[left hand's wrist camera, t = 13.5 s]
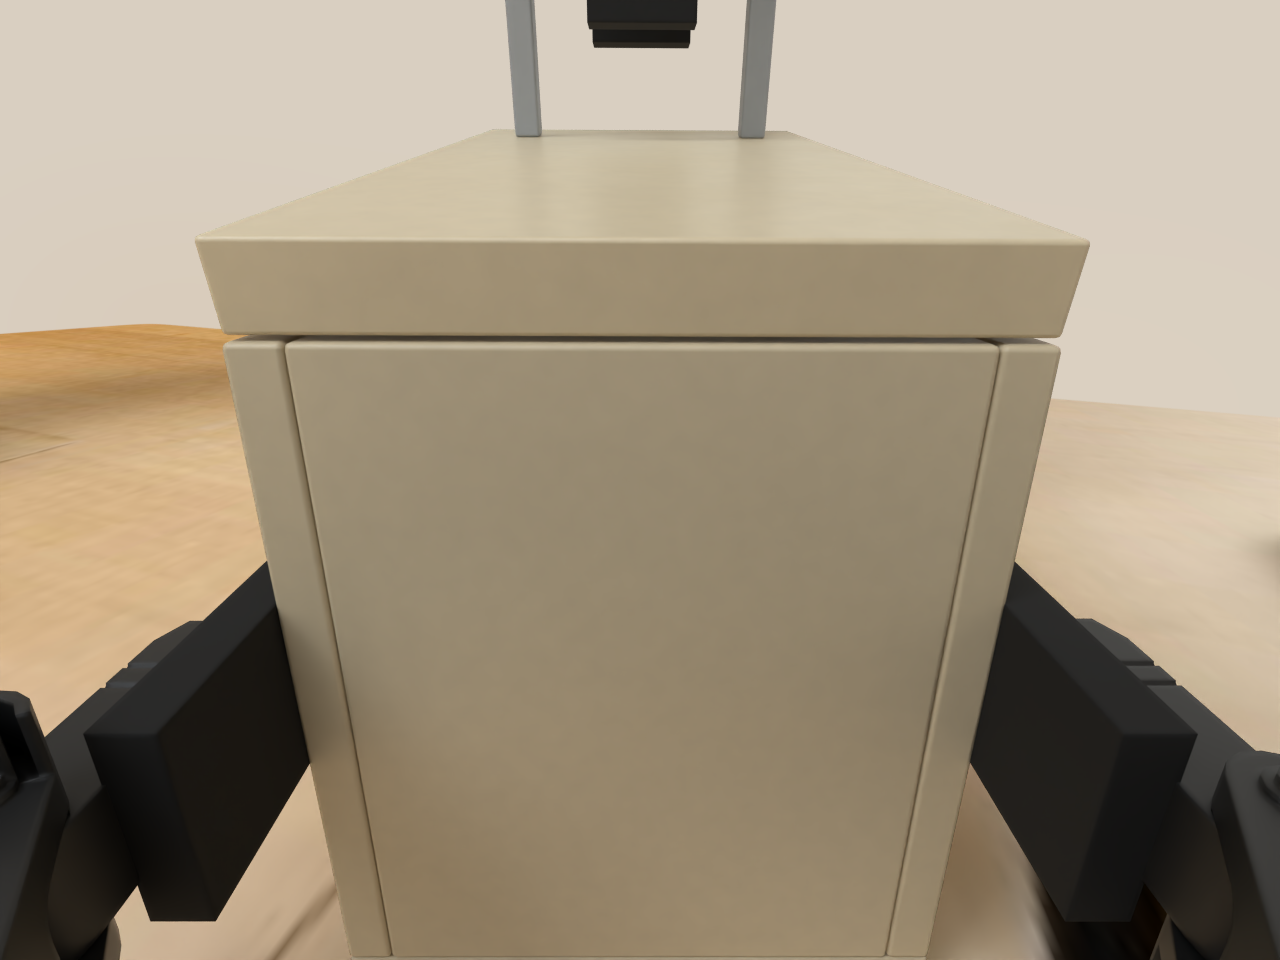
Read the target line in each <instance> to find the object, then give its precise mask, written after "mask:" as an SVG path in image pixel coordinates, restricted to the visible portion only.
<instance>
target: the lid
mask: <svg viewBox="0 0 1280 960" xmlns="http://www.w3.org/2000/svg"><path fill="white" fill-rule="evenodd" d="M505 2H506V15H507V29H508V42H509V55H510V69H511V82H512V95H513V108H514V121H515V130H490V131H487V132H485V133H482V134H479V135H476V136H473V137H471V138H468V139H465V140H462V141H459V142H457V143H454V144H451V145H448V146H446V147H443V148H440V149H437V150H434V151H432V152H429V153H426V154H423V155H421V156H418V157H415V158H412V159H409V160H406V161H404V162H401V163H398V164H395V165H393V166H390V167H387V168H384V169H381V170H379V171H376V172H373V173H370V174H367V175H365V176H362V177H359V178H356V179H353V180H351V181H348V182H345V183H342V184H340V185H337V186H334V187H331V188H328V189H326V190H323V191H320V192H317V193H314V194H312V195H309V196H306V197H303V198H300V199H298V200H295V201H292V202H289V203H287V204H284V205H281V206H278V207H275V208H273V209H270V210H267V211H264V212H261V213H259V214H256V215H253V216H250V217H248V218H245V219H242V220H239V221H236V222H234V223H231V224H228V225H225V226H222V227H220V228H217V229H214V230H211V231H208V232H206V233H203V234H200V235H198V236H196V238H195V243H196V247H197V250H198V253H199V257H200V260H201V263H202V266H203V270H204V273H205V276H206V280H207V283H208V286H209V289H210V293H211V296H212V299H213V303H214V306H215V309H216V312H217V316H218V319H219V322H220V326H221V329H222V331H223V333H225V334H228V335H417V336H664V337H912V338H1057V337H1060V336H1061V334H1062V332H1063V328H1064V325H1065V322H1066V319H1067V316H1068V313H1069V310H1070V307H1071V303H1072V300H1073V297H1074V294H1075V291H1076V288H1077V285H1078V281H1079V278H1080V275H1081V272H1082V269H1083V266H1084V263H1085V259H1086V256H1087V253H1088V250H1089V247H1090V242H1089V241H1088V240H1086V239H1084V238H1081V237H1079V236H1076V235H1073V234H1070V233H1068V232H1065V231H1062V230H1059V229H1057V228H1054V227H1051V226H1048V225H1045V224H1043V223H1040V222H1037V221H1034V220H1032V219H1029V218H1026V217H1023V216H1020V215H1018V214H1015V213H1012V212H1009V211H1007V210H1004V209H1001V208H998V207H996V206H993V205H990V204H987V203H984V202H982V201H979V200H976V199H973V198H971V197H968V196H965V195H962V194H960V193H957V192H954V191H951V190H948V189H946V188H943V187H940V186H937V185H935V184H932V183H929V182H926V181H923V180H921V179H918V178H915V177H912V176H910V175H907V174H904V173H901V172H898V171H896V170H893V169H890V168H887V167H885V166H882V165H879V164H876V163H873V162H871V161H868V160H865V159H862V158H860V157H857V156H854V155H851V154H848V153H846V152H843V151H840V150H837V149H835V148H832V147H829V146H826V145H824V144H821V143H818V142H815V141H813V140H810V139H807V138H804V137H801V136H799V135H796V134H793V133H790V132H787V131H765V126H766V114H767V102H768V90H769V79H770V67H771V55H772V43H773V32H774V20H775V8H776V0H747V8H746V23H745V39H744V53H743V68H742V82H741V97H740V112H739V126H738V131H674V130H669V131H668V130H542V125H541V108H540V91H539V74H538V57H537V40H536V23H535V6H534V0H505Z"/></svg>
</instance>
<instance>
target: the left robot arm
mask: <svg viewBox="0 0 1280 960" xmlns="http://www.w3.org/2000/svg"><path fill="white" fill-rule="evenodd" d="M970 763H971V765H972V766H973V768H974V770H975V771H976V773H977V775H978V776H979V778H980V780H981V781H982V783H983V785H984V786H985V788H986V790H987V791H988V793H989V795H990V796H991V798H992V800H993V801H994V803H995V805H996V806H997V808H998V810H999V811H1000V813H1001V815H1002V816H1003V818H1004V820H1005V821H1006V823H1007V825H1008V827H1009V828H1010V830H1011V832H1012V833H1013V835H1014V837H1015V838H1016V840H1017V842H1018V843H1019V845H1020V847H1021V848H1022V850H1023V852H1024V853H1025V855H1026V857H1027V858H1028V860H1029V862H1030V863H1031V865H1032V867H1033V868H1034V870H1035V872H1036V873H1037V875H1038V877H1039V878H1040V880H1041V882H1042V883H1043V885H1044V887H1045V888H1046V890H1047V892H1048V894H1049V895H1050V897H1051V899H1052V900H1053V902H1054V904H1055V905H1056V907H1057V909H1058V910H1059V912H1060V914H1061V915H1062V917H1063V919H1064V920H1065V921H1070V922H1130V921H1131V918H1132V916H1133V913H1134V910H1135V907H1136V904H1137V902H1138V899H1139V896H1140V893H1141V891H1142V888H1143V885H1144V883H1145V884H1146V886H1147V887H1148V888H1149V890H1150V891H1151V892H1152V894H1153V895H1154V896H1155V898H1156V899H1157V900H1158V902H1159V903H1160V904H1161V906H1162V907H1163V908H1164V910H1165V911H1166V912H1167V916H1166V919H1165V921H1164V924H1163V927H1162V929H1161V932H1160V934H1159V937H1158V939H1157V942H1156V945H1155V947H1154V950H1153V952H1152V955H1151V958H1150V960H1280V754H1276V753H1271V752H1265V751H1255V750H1254V749H1253V748H1252V747H1251V746H1250V745H1248V744H1247V743H1246V742H1245V741H1244V740H1243V739H1242V738H1241V737H1239V736H1238V735H1237V734H1236V733H1235V732H1234V731H1233V730H1231V729H1230V728H1229V727H1228V726H1227V725H1226V724H1225V723H1223V722H1222V721H1221V720H1220V719H1219V718H1218V717H1217V716H1215V715H1214V714H1213V713H1212V712H1211V711H1210V710H1209V709H1208V708H1206V707H1205V706H1204V705H1203V704H1202V703H1201V702H1200V701H1198V700H1197V699H1196V698H1195V697H1194V696H1193V695H1192V694H1190V693H1189V692H1188V691H1187V690H1186V689H1185V688H1184V687H1182V686H1177V685H1176V680H1174V679H1173V678H1172V677H1171V676H1170V675H1169V674H1168V673H1167V672H1165V671H1164V670H1163V669H1162V668H1161V667H1160V666H1154V661H1153V660H1152V659H1151V658H1149V657H1148V656H1147V655H1146V654H1145V653H1144V652H1143V651H1141V650H1140V649H1139V648H1138V647H1137V646H1136V645H1135V644H1134V643H1132V642H1131V641H1130V640H1129V639H1128V638H1126V637H1124V636H1122V635H1121V634H1119V633H1117V632H1115V631H1113V630H1111V629H1110V628H1108V627H1106V626H1104V625H1102V624H1100V623H1099V622H1097V621H1095V620H1093V619H1075V618H1074V617H1073V616H1072V615H1071V614H1070V613H1069V612H1068V611H1067V610H1066V609H1065V608H1063V607H1062V606H1061V605H1060V604H1059V603H1058V602H1057V601H1056V600H1055V599H1054V598H1053V597H1052V596H1051V595H1050V594H1049V593H1048V592H1046V591H1045V590H1044V589H1043V588H1042V587H1041V586H1040V585H1039V584H1038V583H1037V582H1036V581H1035V580H1034V579H1033V578H1032V577H1030V576H1029V575H1028V574H1027V573H1026V572H1025V571H1024V570H1023V569H1022V568H1021V567H1020V566H1019V565H1018V564H1017V563H1016V562H1015V561H1014V566H1013V570H1012V575H1011V579H1010V584H1009V588H1008V593H1007V597H1006V602H1005V604H1004V608H1003V613H1002V618H1001V622H1000V627H999V631H998V636H997V641H996V645H995V650H994V654H993V659H992V664H991V668H990V673H989V677H988V682H987V686H986V691H985V696H984V700H983V705H982V709H981V714H980V719H979V723H978V728H977V732H976V737H975V741H974V746H973V750H972V755H971V759H970ZM309 764H310V761H309V756H308V752H307V747H306V742H305V737H304V733H303V728H302V723H301V719H300V714H299V709H298V704H297V700H296V695H295V690H294V685H293V681H292V676H291V671H290V666H289V662H288V657H287V652H286V647H285V643H284V638H283V633H282V628H281V624H280V619H279V614H278V609H277V605H276V600H275V595H274V590H273V586H272V581H271V576H270V572H269V567H268V562H267V561H266V562H265V563H264V564H263V565H262V566H261V567H260V568H259V569H258V570H257V571H256V572H254V573H253V574H252V575H251V576H250V577H249V578H248V579H247V580H246V581H245V582H244V583H243V584H242V585H241V586H240V587H239V588H237V589H236V590H235V591H234V592H233V593H232V594H231V595H230V596H229V597H228V598H227V599H226V600H225V601H224V602H223V603H221V604H220V605H219V606H218V607H217V608H216V609H215V610H214V611H213V612H212V613H211V614H210V615H209V616H208V617H207V618H206V619H204V620H203V621H189V622H187V623H185V624H183V625H181V626H180V627H178V628H176V629H174V630H172V631H171V632H169V633H167V634H165V635H163V636H161V637H160V638H158V639H156V640H154V641H153V642H152V643H151V644H150V645H148V646H147V647H146V648H145V649H144V650H143V651H142V652H141V653H139V654H138V655H137V656H136V657H135V658H134V659H133V660H131V661H130V662H129V663H128V667H127V668H122V669H121V670H120V671H119V672H118V673H117V674H116V675H115V676H113V677H112V678H111V679H110V680H109V681H108V682H107V683H106V687H105V688H100V689H99V690H98V691H96V692H95V693H94V694H93V695H92V696H91V697H90V698H89V699H87V700H86V701H85V702H84V703H83V704H82V705H81V706H80V707H78V708H77V709H76V710H75V711H74V712H73V713H72V714H70V715H69V716H68V717H67V718H66V719H65V720H64V721H63V722H61V723H60V724H59V725H58V726H57V727H56V728H55V729H54V730H52V731H51V732H50V733H49V734H48V735H47V736H46V737H44V735H43V732H42V730H41V727H40V725H39V722H38V719H37V717H36V714H35V712H34V709H33V706H32V704H31V701H30V699H29V698H27V697H26V696H24V695H22V694H20V693H19V692H16V691H0V960H119V959H120V951H121V940H120V935H119V929H118V927H117V924H116V921H115V919H114V916H115V915H116V913H117V912H118V911H119V909H120V908H121V907H122V905H123V904H124V903H125V901H126V900H127V899H128V897H129V896H130V895H131V893H132V892H133V891H134V889H135V888H136V887H137V885H138V888H139V891H140V894H141V896H142V899H143V902H144V905H145V907H146V910H147V913H148V916H149V918H150V921H216V920H217V918H218V916H219V915H220V913H221V911H222V910H223V908H224V906H225V905H226V903H227V901H228V900H229V898H230V896H231V895H232V893H233V891H234V890H235V888H236V886H237V885H238V883H239V881H240V880H241V878H242V876H243V875H244V873H245V871H246V870H247V868H248V866H249V865H250V863H251V861H252V859H253V858H254V856H255V854H256V853H257V851H258V849H259V848H260V846H261V844H262V843H263V841H264V839H265V838H266V836H267V834H268V833H269V831H270V829H271V828H272V826H273V824H274V823H275V821H276V819H277V818H278V816H279V814H280V813H281V811H282V809H283V808H284V806H285V804H286V802H287V801H288V799H289V797H290V796H291V794H292V792H293V791H294V789H295V787H296V786H297V784H298V782H299V781H300V779H301V777H302V776H303V774H304V772H305V771H306V769H307V767H308V766H309Z"/></svg>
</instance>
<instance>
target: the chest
mask: <svg viewBox="0 0 1280 960" xmlns="http://www.w3.org/2000/svg"><path fill="white" fill-rule="evenodd" d="M223 353H224V358H225V363H226V368H227V372H228V377H229V382H230V387H231V391H232V396H233V401H234V406H235V410H236V415H237V420H238V425H239V429H240V434H241V439H242V443H243V448H244V453H245V458H246V462H247V467H248V472H249V477H250V481H251V486H252V491H253V496H254V500H255V505H256V510H257V515H258V519H259V524H260V529H261V534H262V538H263V543H264V548H265V553H266V557H267V562H268V567H269V572H270V576H271V581H272V586H273V590H274V595H275V600H276V605H277V609H278V614H279V619H280V624H281V628H282V633H283V638H284V643H285V647H286V652H287V657H288V662H289V666H290V671H291V676H292V681H293V685H294V690H295V695H296V700H297V704H298V709H299V714H300V719H301V723H302V728H303V733H304V737H305V742H306V747H307V752H308V756H309V761H310V766H311V771H312V775H313V780H314V785H315V790H316V794H317V799H318V804H319V809H320V813H321V818H322V823H323V828H324V832H325V837H326V842H327V847H328V851H329V856H330V861H331V865H332V870H333V875H334V880H335V884H336V889H337V894H338V899H339V903H340V908H341V913H342V918H343V922H344V927H345V932H346V937H347V941H348V946H349V951H350V955H351V956H352V957H351V960H926V955H927V953H928V948H929V944H930V939H931V935H932V930H933V926H934V921H935V917H936V912H937V908H938V903H939V899H940V894H941V890H942V885H943V881H944V876H945V872H946V867H947V863H948V858H949V854H950V849H951V845H952V840H953V836H954V831H955V827H956V822H957V818H958V813H959V809H960V804H961V800H962V795H963V791H964V786H965V782H966V777H967V773H968V768H969V764H970V759H971V755H972V750H973V746H974V741H975V737H976V732H977V728H978V723H979V719H980V714H981V709H982V705H983V700H984V696H985V691H986V686H987V682H988V677H989V673H990V668H991V664H992V659H993V654H994V650H995V645H996V641H997V636H998V631H999V627H1000V622H1001V618H1002V613H1003V608H1004V604H1005V602H1006V597H1007V593H1008V588H1009V584H1010V579H1011V575H1012V570H1013V566H1014V561H1015V557H1016V552H1017V548H1018V543H1019V539H1020V534H1021V530H1022V525H1023V521H1024V516H1025V512H1026V507H1027V503H1028V498H1029V494H1030V489H1031V485H1032V480H1033V476H1034V471H1035V467H1036V462H1037V458H1038V453H1039V449H1040V444H1041V440H1042V435H1043V431H1044V426H1045V422H1046V417H1047V413H1048V408H1049V404H1050V399H1051V395H1052V390H1053V386H1054V381H1055V377H1056V372H1057V368H1058V363H1059V359H1060V354H1061V352H1060V348H1059V347H1057V346H1055V345H1053V344H1050V343H1047V342H1043V341H1040V340H1037V339H1034V338H912V337H664V336H417V335H249V336H245V337H242V338H239V339H236V340H233V341H230V342H227V343H225V344H224V345H223Z"/></svg>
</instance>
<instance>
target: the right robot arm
mask: <svg viewBox="0 0 1280 960" xmlns="http://www.w3.org/2000/svg"><path fill="white" fill-rule="evenodd" d="M587 23H588V26H589V29H593V45H594V47H595V48H688V47H689V44H690V30H695V27H696V24H697V0H587Z"/></svg>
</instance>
